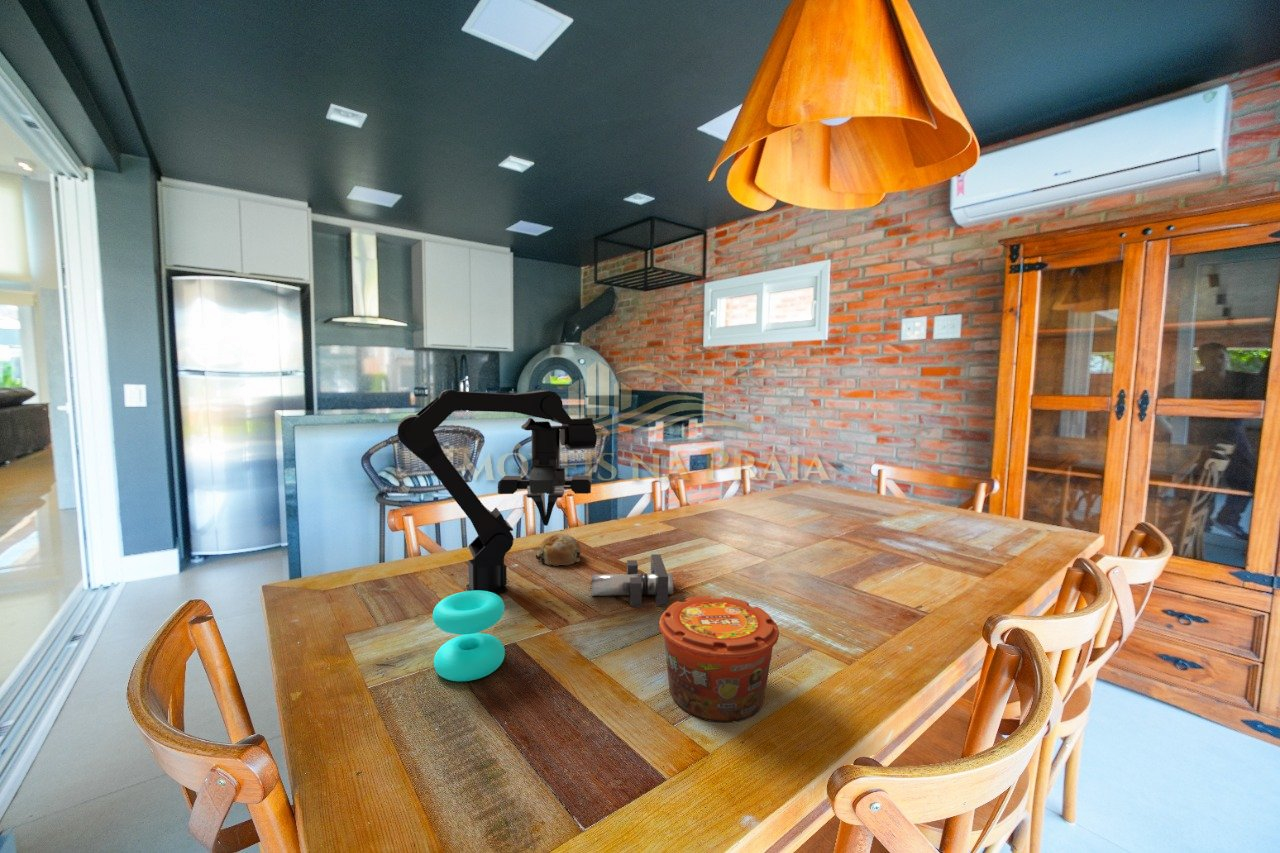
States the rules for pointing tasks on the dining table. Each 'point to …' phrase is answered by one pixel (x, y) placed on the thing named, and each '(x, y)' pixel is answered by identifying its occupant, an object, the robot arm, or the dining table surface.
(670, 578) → the tube
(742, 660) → the food container
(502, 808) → the dining table surface
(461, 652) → the donuts
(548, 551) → the bread roll
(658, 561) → the gray bridge arch
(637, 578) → the cradle collar
